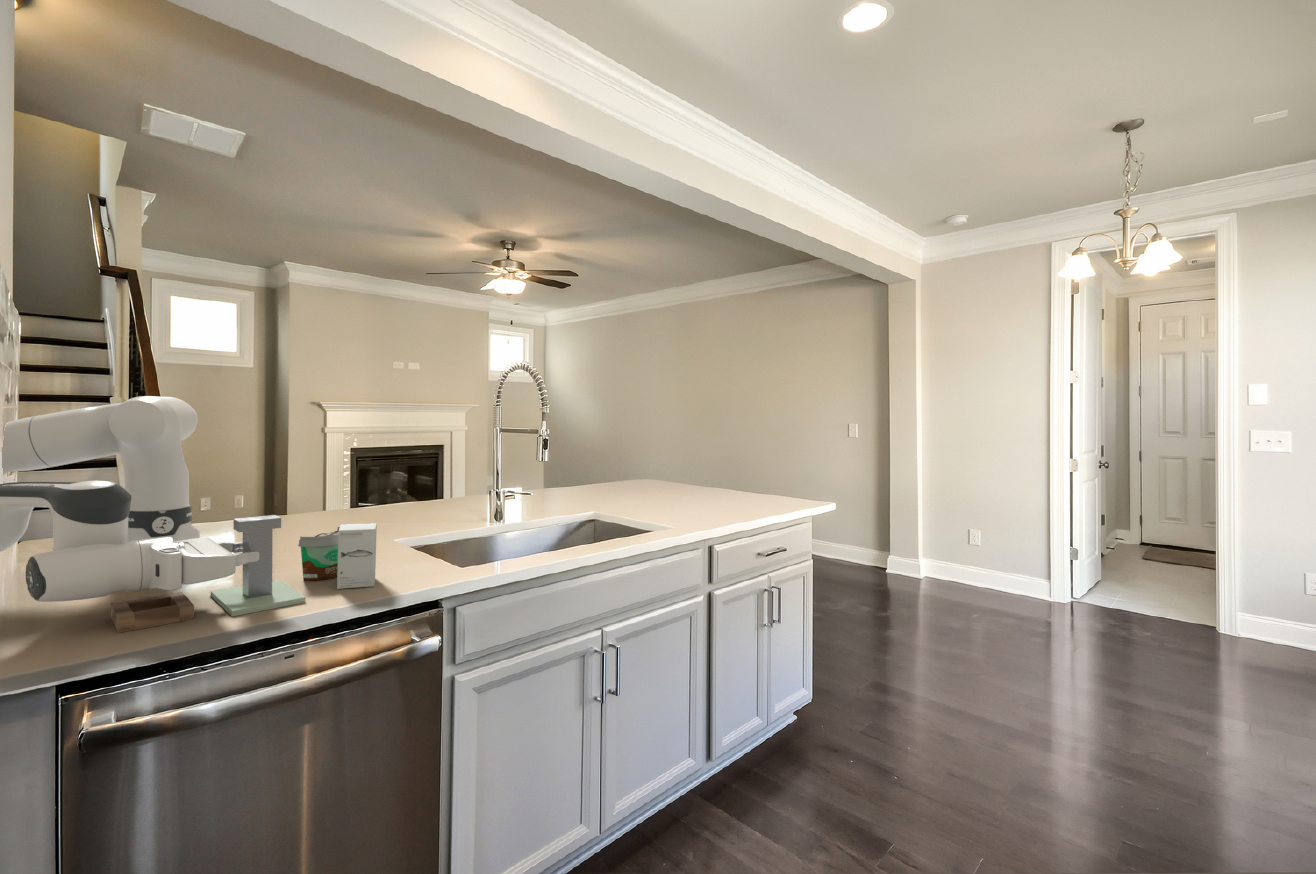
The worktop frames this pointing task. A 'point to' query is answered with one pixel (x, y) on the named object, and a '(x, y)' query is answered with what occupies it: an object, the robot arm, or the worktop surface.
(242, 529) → the t-key
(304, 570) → the food container
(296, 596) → the green mat
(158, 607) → the socket block
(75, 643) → the worktop surface
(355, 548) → the supplement box
